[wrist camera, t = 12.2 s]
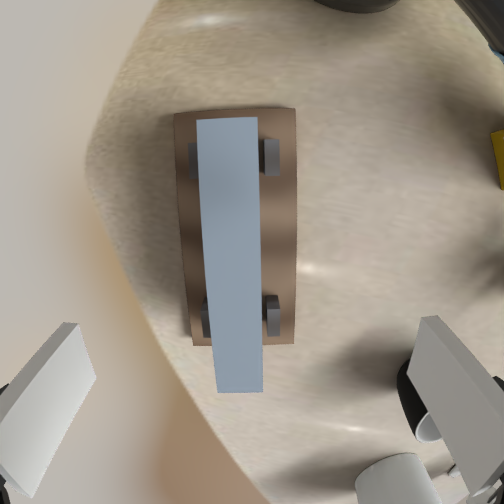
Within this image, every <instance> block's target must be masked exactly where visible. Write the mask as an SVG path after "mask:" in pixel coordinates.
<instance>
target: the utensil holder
mask: <svg viewBox="0 0 504 504" xmlns="http://www.w3.org/2000/svg"><path fill="white" fill-rule="evenodd" d="M355 489H356V494H357V499H358V504H442V502H441V500H440V498H439V496H438V493H437V491H436V489H435V487H434V485H433V483H432V481H431V479H430V477H429V475H428V473H427V471H426V469H425V467H424V465H423V463H422V461H421V460H420V458H419V457H418V456H417V455H416V454H412V453H403V454H398V455H394V456H391V457H388V458H385V459H383V460H380V461H378V462H376V463H375V464H373V465H371V466H369V467H368V468H367V469H365V470H364V471H363V472H362V473H361V474H360V475H359V476H358V477H357V479H356V481H355Z"/></svg>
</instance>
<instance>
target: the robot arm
mask: <svg viewBox="0 0 504 504" xmlns="http://www.w3.org/2000/svg"><path fill="white" fill-rule="evenodd" d="M315 1H317V2H319V3H321V4H323V5H326V6H329V7H331V8H335V9H338V10H342V11H347V12H354V13H373V12H379V11H383V10H385V9H388V8H390V7H392V6H393V5H395V4H396V3H397V2H398V1H399V0H315ZM454 1H455V2H456V3H457V4H458V5H459V7H460V8H461V9H462V10H463V11H464V12H465V14H466V15H467V16H468V17H469V18H470V20H471V21H472V22H473V23H474V25H475V26H476V27H477V28H478V30H479V31H480V32H481V34H482V35H483V36H484V38H485V39H486V40H487V42H488V46H489V48H490V49H491V51H492V52H493V53H494V54H495V55H496V56H498V57H499V58H500V60H501V61H502V62H503V64H504V0H454ZM407 375H408V377H409V378H410V380H411V382H412V384H413V385H414V387H415V389H416V390H417V392H418V394H419V396H420V398H421V399H422V401H423V403H424V405H425V406H426V408H427V410H428V412H429V414H430V416H431V417H432V419H433V421H434V423H435V425H436V427H437V429H438V430H439V432H440V434H441V436H442V438H443V440H444V442H445V444H446V446H447V448H448V449H449V451H450V453H451V455H452V457H453V459H454V461H455V463H456V465H457V467H458V469H459V471H460V473H461V475H462V478H463V480H464V482H465V484H466V486H467V488H468V490H469V492H470V494H471V497H474V496H476V495H478V494H480V493H482V492H484V491H487V490H489V489H490V488H491V487H492V486H493V485H494V484H495V483H496V482H497V480H498V479H499V478H500V480H501V482H502V485H501V486H500V487H499V488H498V489H497V490H496V491H495V492H494V493H493V494H492V495H491V496H490V497H489V499H488V501H487V503H490V502H491V501H492V500H493V499H494V498H495V497H496V496H497V497H496V500H495V502H494V503H493V504H504V381H503V380H502V379H500V378H499V377H497V376H495V377H491V375H490V374H489V373H488V372H487V371H486V369H485V368H484V367H483V366H482V365H481V364H480V362H479V361H478V360H477V359H476V358H475V357H474V355H473V354H472V353H471V352H470V351H469V350H468V348H467V347H466V346H465V345H464V344H463V343H462V342H461V341H460V339H459V338H458V337H457V336H456V335H455V334H454V333H453V332H452V331H451V330H450V328H449V327H448V326H447V325H446V324H445V323H444V322H443V321H442V320H441V319H440V318H439V317H438V315H437V316H429V317H421V322H420V326H419V330H418V334H417V338H416V342H415V346H414V349H413V353H412V357H411V360H410V364H409V367H408V370H407ZM95 380H96V375H95V372H94V370H93V367H92V364H91V361H90V358H89V355H88V352H87V349H86V346H85V343H84V340H83V337H82V333H81V330H80V327H79V324H77V323H76V324H75V323H65V322H64V323H63V324H62V325H61V326H60V327H59V328H58V329H57V330H56V331H55V332H54V333H53V334H52V335H51V337H50V338H49V339H48V340H47V341H46V342H45V343H44V344H43V345H42V347H41V348H40V349H39V350H38V351H37V352H36V353H35V355H34V356H33V357H32V358H31V359H30V360H29V362H28V363H27V364H26V365H25V366H24V368H23V369H22V370H21V371H20V372H19V373H18V375H17V376H16V377H15V378H14V379H13V380H12V382H11V383H10V384H7V385H5V386H4V387H2V388H1V389H0V504H10V500H9V496H8V493H7V490H6V489H5V487H4V484H5V482H6V481H7V483H8V484H9V485H10V486H11V487H12V488H13V489H14V490H15V491H17V492H19V493H21V494H23V495H25V496H28V497H30V498H33V496H34V494H35V492H36V490H37V488H38V486H39V484H40V481H41V479H42V477H43V475H44V473H45V471H46V469H47V467H48V466H49V464H50V462H51V459H52V458H53V456H54V454H55V452H56V450H57V448H58V446H59V444H60V442H61V441H62V439H63V437H64V435H65V433H66V431H67V429H68V428H69V426H70V424H71V422H72V420H73V418H74V416H75V415H76V413H77V411H78V409H79V408H80V406H81V404H82V402H83V401H84V399H85V397H86V395H87V393H88V392H89V390H90V388H91V387H92V385H93V383H94V382H95Z"/></svg>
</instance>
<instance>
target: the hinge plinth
mask: <svg viewBox="0 0 504 504" xmlns="http://www.w3.org/2000/svg"><path fill="white" fill-rule="evenodd" d="M239 117H257V122H258V159H259V199H260V245H261V297H262V345H276V344H294V326H295V297H296V252H297V157H296V113H295V109H292V108H263V109H230V110H212V111H198V112H186V113H176V114H174V139H175V162H176V180H177V196H178V210H179V223H180V235H181V246H182V256H183V266H184V276H185V285H186V293H187V302H188V310H189V318H190V326H191V333H192V340H193V346H212V340H211V330H210V321H209V310H208V300H207V289H206V277H205V265H204V252H203V239H202V224H201V209H200V191H199V172H198V149H197V120H202V119H218V118H239Z"/></svg>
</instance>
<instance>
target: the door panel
mask: <svg viewBox="0 0 504 504" xmlns="http://www.w3.org/2000/svg"><path fill="white" fill-rule="evenodd" d="M197 149H198V172H199V191H200V209H201V224H202V239H203V252H204V265H205V277H206V289H207V300H208V310H209V321H210V330H211V340H212V349H213V358H214V367H215V375H216V383H217V391H218V393H252V392H263V362H262V297H261V245H260V199H259V159H258V122H257V117H239V118H218V119H202V120H197Z"/></svg>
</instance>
